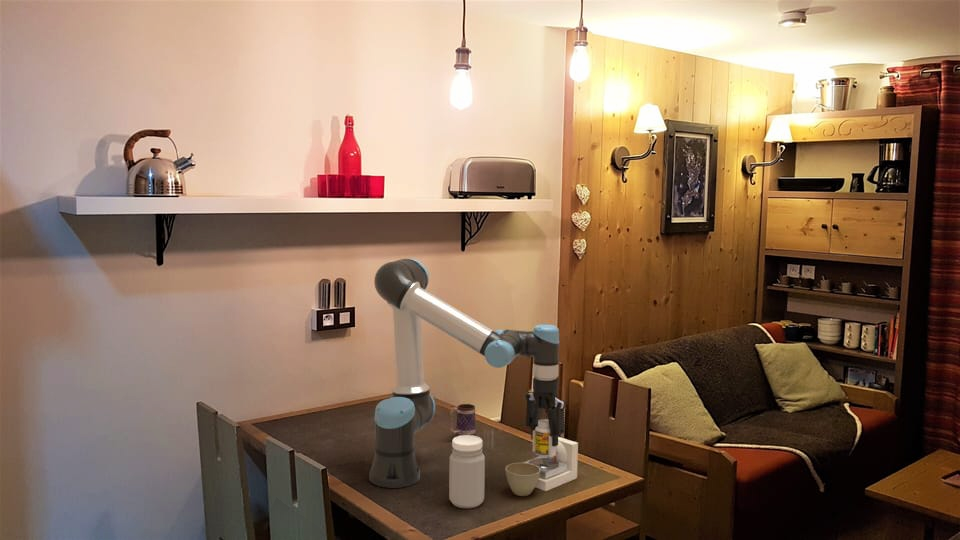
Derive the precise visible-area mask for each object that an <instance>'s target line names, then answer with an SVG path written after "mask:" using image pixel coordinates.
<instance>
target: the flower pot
mask: <svg viewBox="0 0 960 540" xmlns="http://www.w3.org/2000/svg"><path fill="white" fill-rule="evenodd" d="M539 475H540V468H539V467H538V466H536V465H533V464H530V463H523V462H513V463H510V464H507V465H506V466H505V476H506V479H507V483H508V485H509V488H510V489H511V492H512V493H513V494H514V495H516V496H520V497H526V496H529V495H531V494H532V492H533V491H534V489H536V487H535V486H536V484H537V481H538V478H539Z"/></svg>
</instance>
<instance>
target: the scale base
mask: <svg viewBox="0 0 960 540" xmlns="http://www.w3.org/2000/svg"><path fill="white" fill-rule="evenodd" d="M578 454H579V442H577V441H573V440H570V439H567V438H564V437H563V438H562V437H560V436H558V446H556V455H555V456H553V457H548V458H551V459H554V460H556V461H559V462H562V463H565V464H567V470H566V471H564V472H561V473H559V474H556V475H554V476H551V477H549V478H546V479H545V478H542V477H539V478H538V481H537V484H536V486H535V489H539V490H541V491H544V492H547V491H550V490H552V489H554V488H557V487H559V486H562V485H564V484H566V483H569V482H571V481H574V480H576V479H578V462H579V461H578V459H579V457H578V456H579V455H578Z"/></svg>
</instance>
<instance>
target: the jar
mask: <svg viewBox="0 0 960 540" xmlns="http://www.w3.org/2000/svg"><path fill="white" fill-rule="evenodd" d="M483 441H484V440H483V439H482V438H481V437H480V436H477V435H476V436H473V435H462V436H457V437H456V436H455V437H453V439H452V441H451V447H452V449H451V451H452V452H451V454H450V455H449V463H448V464H449V471H448V472H449V478H448V481H449V482H448V483H449V484H448V487H449V488H448V489H449V490H448V493H449V494H448V497H449V498H448V499H449V500H450V502H451V503H452V504H453V506H454V507H457V508H460V509H473V508H477V507H479V506H481V504H482V503H483V502H484V500H485V482H486V481H485V480H486V479H485V476H486V475H485V474H486V472H485V471H486V467H485V464H486V463H485V462H486V456H485V455H484V453H483V450H484V449H483Z"/></svg>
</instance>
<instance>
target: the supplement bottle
mask: <svg viewBox="0 0 960 540" xmlns="http://www.w3.org/2000/svg"><path fill="white" fill-rule="evenodd" d="M550 434H551V431H550V426H549V421H548V418H547V419H546V418H541V419H540V420H538V426H537V427H536V428H535V452H534V453H535V455H537V457H539V456H542V457H548V453H549V435H550Z"/></svg>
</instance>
